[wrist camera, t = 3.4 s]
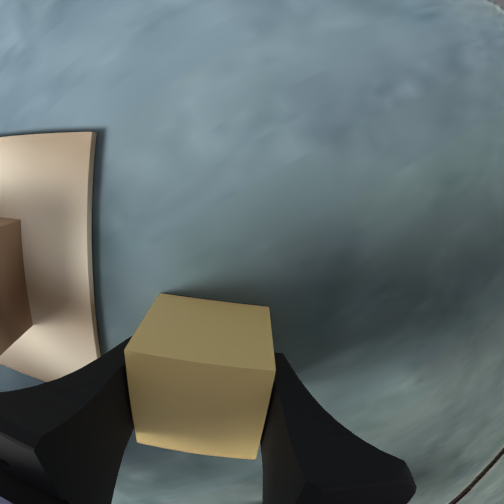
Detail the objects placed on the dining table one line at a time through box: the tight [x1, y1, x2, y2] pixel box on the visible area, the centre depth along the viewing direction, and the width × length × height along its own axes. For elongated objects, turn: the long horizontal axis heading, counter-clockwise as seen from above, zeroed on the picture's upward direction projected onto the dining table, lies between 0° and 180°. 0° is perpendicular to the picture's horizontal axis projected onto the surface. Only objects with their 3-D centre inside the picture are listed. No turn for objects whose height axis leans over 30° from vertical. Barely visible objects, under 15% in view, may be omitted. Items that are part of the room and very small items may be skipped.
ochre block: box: [124, 293, 276, 460], centre depth 11 cm, size 4×4×4 cm
